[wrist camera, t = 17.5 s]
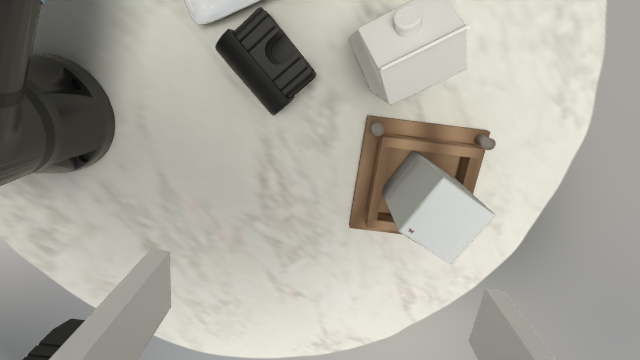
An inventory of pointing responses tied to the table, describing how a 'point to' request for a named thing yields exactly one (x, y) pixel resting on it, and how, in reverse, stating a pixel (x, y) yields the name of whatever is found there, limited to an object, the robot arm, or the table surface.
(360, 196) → the jig
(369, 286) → the table surface
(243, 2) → the salad plate
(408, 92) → the milk carton
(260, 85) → the end cap
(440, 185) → the supplement box
